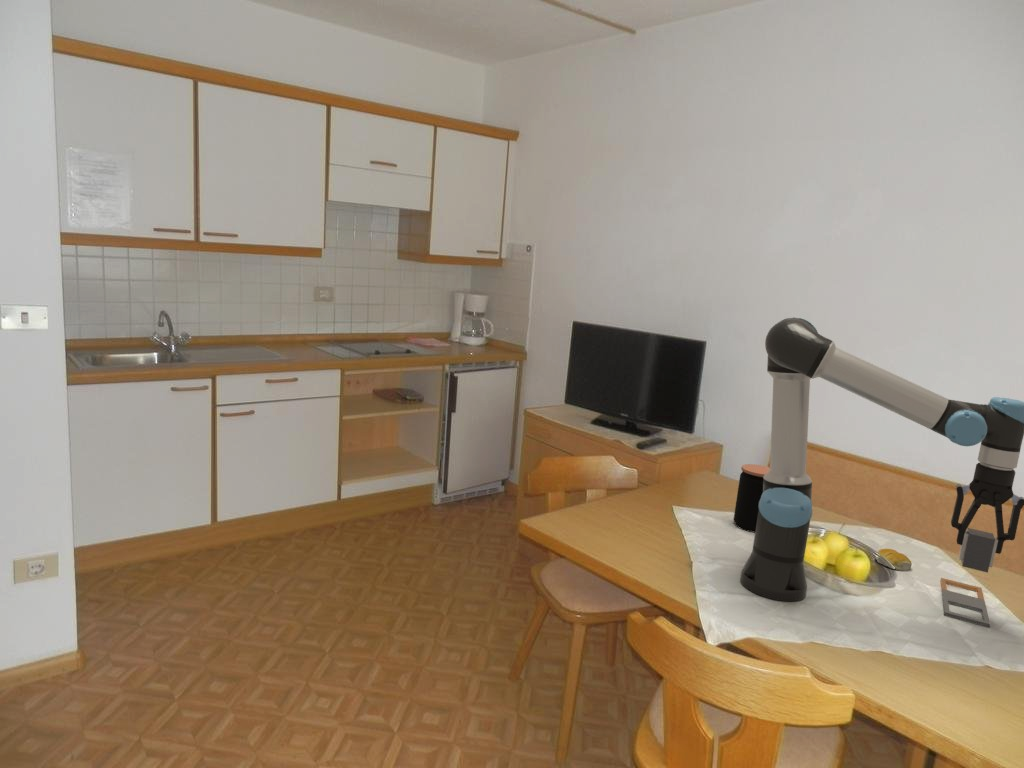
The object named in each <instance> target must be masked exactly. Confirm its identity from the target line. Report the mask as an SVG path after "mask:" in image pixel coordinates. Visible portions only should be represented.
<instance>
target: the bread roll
mask: <svg viewBox="0 0 1024 768" xmlns="http://www.w3.org/2000/svg"><path fill="white" fill-rule="evenodd" d="M877 552H878V553H879V554H880V555H882V556H883V557H885V558H886V559H887V560H888V561H889V562H890V563H891V564H892V565H893V566H894V567H895V569H896V570H895V571H899V572H900V571H904V572H905V571H909V570H910V569H911V568H912V561H911V559H910V558H909V557H908V556H907V555H906V554H903V553H901V552H898V551H897V550H895V549H892V548H880V549H879V550H878V551H876V553H877Z"/></svg>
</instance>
